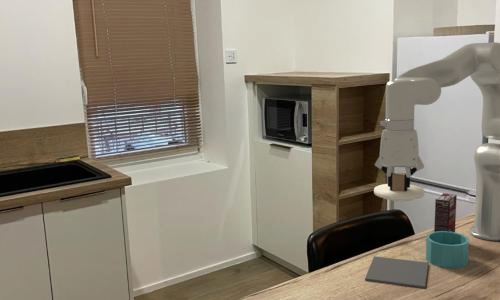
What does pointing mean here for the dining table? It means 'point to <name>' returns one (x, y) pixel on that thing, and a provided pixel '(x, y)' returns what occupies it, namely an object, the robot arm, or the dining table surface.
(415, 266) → the mat
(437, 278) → the dining table surface
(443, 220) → the supplement box
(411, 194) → the lid
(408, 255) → the dining table surface
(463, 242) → the bowl
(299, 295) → the dining table surface
